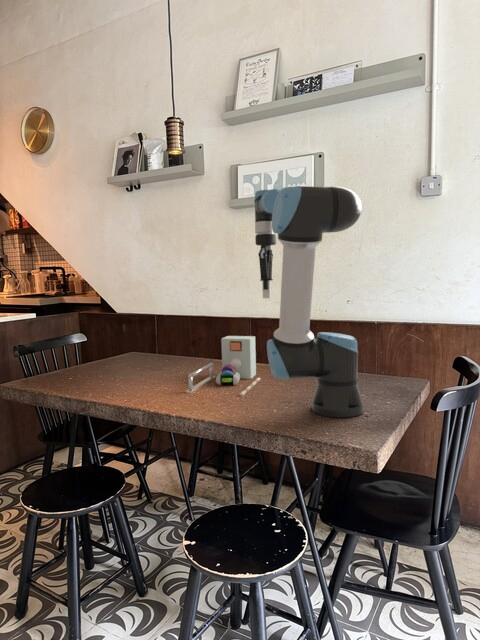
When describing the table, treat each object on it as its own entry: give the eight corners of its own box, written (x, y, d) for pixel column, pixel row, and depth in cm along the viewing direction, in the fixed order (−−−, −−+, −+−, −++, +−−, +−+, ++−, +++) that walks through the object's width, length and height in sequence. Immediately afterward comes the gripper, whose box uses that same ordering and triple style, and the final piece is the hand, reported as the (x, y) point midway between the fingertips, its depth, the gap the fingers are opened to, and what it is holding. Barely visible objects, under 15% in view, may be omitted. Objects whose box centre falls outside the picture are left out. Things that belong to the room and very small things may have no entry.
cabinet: (250, 379, 175) (249, 339, 174) (222, 377, 179) (221, 338, 177) (256, 374, 183) (255, 336, 182) (228, 373, 187) (227, 335, 185)
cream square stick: (242, 396, 151) (242, 394, 151) (239, 395, 151) (239, 394, 151) (260, 379, 174) (260, 377, 174) (258, 379, 175) (258, 377, 175)
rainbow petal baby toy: (240, 380, 174) (240, 362, 173) (237, 386, 164) (237, 367, 163) (219, 380, 175) (219, 362, 174) (215, 386, 165) (214, 367, 164)
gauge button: (240, 350, 175) (239, 342, 175) (230, 350, 176) (230, 342, 176) (242, 349, 178) (242, 341, 178) (232, 348, 179) (232, 341, 179)
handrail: (191, 393, 156) (190, 375, 156) (186, 392, 157) (185, 375, 156) (215, 377, 180) (215, 362, 179) (210, 377, 181) (210, 361, 180)
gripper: (271, 232, 155) (272, 299, 157) (279, 235, 167) (280, 297, 169) (251, 233, 157) (252, 299, 159) (260, 236, 169) (261, 297, 172)
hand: (266, 298), depth 164 cm, fingers closed
